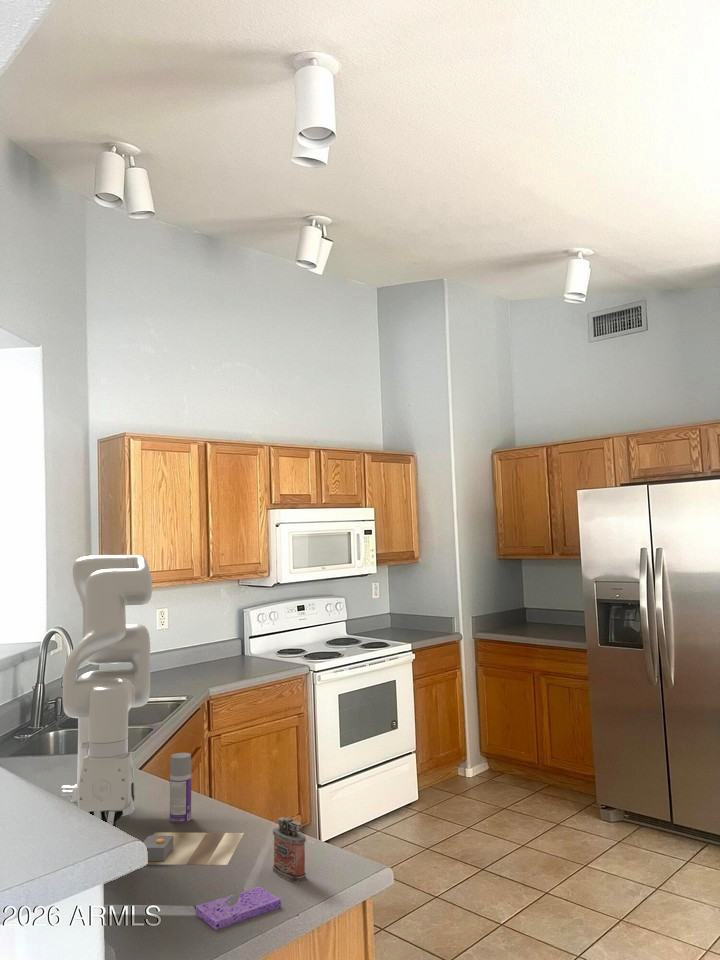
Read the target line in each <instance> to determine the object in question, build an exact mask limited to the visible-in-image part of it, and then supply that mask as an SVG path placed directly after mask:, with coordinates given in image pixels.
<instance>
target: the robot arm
mask: <svg viewBox="0 0 720 960" xmlns="http://www.w3.org/2000/svg"><path fill="white" fill-rule="evenodd" d="M72 577H73V578H72V580H73V583H74V584H73V585H74V587H75V590H76V592H77V595H78V596H79V600H80V602H81V606H82V639H80V641H79V642H78V643H77V644H76V645H75V646H74V647H73V649H72V650H71V652H70V654H69V655H68V657H67V658H66V661H65V665H64V668H63V673H62V674H63V675H62V709H63V712H64V713H65V715H66V716H67V717H68V718H72V719H77V720H78V721H77V727H78V728H77V732H78V734H77V735H78V736H77V772H76V773H77V774H76V775H77V776H76V778H77V779H76V780H77V781H76V784H75V785H62V786H61V788H60V793H61V796H62V797H70V798H71V800H70V801H69V804H70V803H72V804H74V805H76V806H78V807H79V808H81V809H83V810H85V811H86V812H88V813H90V814H92V815H94V816H96V817H98V818H100V819H101V820H103V821H105V822H107V823H109V824H111V825H113V826H115V827H116V825H117V824H116V822H117V821H118V820H119V819H120V818H121V817H125V816H127V815H132V814H133V813H134V812H135V810H136V808H135V805H134V801H135V797H136V794H135V793H136V788H135V787H136V786H135V771H134V764H133V758H132V755H131V753H130V752H129V750H128V749H129V748H128V747H129V743H128V742H129V741H128V740H129V739H128V738H129V712H130V710H131V708H139V707H140V708H141V707H143V706H145V705H146V704H148V702H149V699H150V696H151V638H150V637H151V636H150V634H149V631H148V628H147V627H146V626H145V625H143V624H141V623H130V624H129V623H127V622H126V606H143V605H146V604H148V603H149V602H150V601H151V598H152V595H153V579H152V578H153V577H152V574H151V569H150V567H149V563H148V561H147V559H146V557H144V556H142V555H139V554H138V555H137V554H118V555H117V554H116V555H115V554H112V555H111V554H103V555H102V554H98V555H97V554H96V555H88V556H86V555H85V556H82V557H79V558H77V559H76V560H74V563H73V565H72ZM84 661H85V662H86V663H87V664H90V665H114V664H115V665H116V664H129V665H130V666H131V667H130V668H129V667H128V668H116V669H115V668H114V669H111V668H110V669H98V670H97V669H96V670H91V671H87V672H85V673H83V674H81V675H80V676H79V677H78V670H79V667H80V666H81V664H82V663H83V662H84ZM107 812H108V816H107Z"/></svg>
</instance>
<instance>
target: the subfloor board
mask: <svg viewBox="0 0 720 960" xmlns="http://www.w3.org/2000/svg"><path fill="white" fill-rule="evenodd" d="M244 834H245V832H167V831H166V832H164V831H162V832H161V831H160V832H159V831H158V832H157V831H156V832H154V834H153V835H152V836H173V850H172V851H171V853H170V854H169V855H168V857H167V858H166V859H165V861H148V864H147V865H153V866H154V865H162V866H163V865H165V866H167V865H169V866H171V865H172V866H173V865H174V866H177V865H178V866H179V865H180V866H181V865H183V866H228V865H229V862H230V861H231V858H233V856H234V853H235V851H237V848H238V846H239V844H240V842H241V840H242V838H243V837H244Z"/></svg>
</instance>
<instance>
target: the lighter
mask: <svg viewBox="0 0 720 960" xmlns="http://www.w3.org/2000/svg"><path fill="white" fill-rule="evenodd" d="M277 823H278V827H274V828H273V829H272V835H273V866H272V872H273V873H274V874H276V875H277V876H278V877H281V878H282V879H285V880H288V881H291V882H293V883H302V882H304V881H306V879H307V873H306V870H305V869H306V865H305V864H306V863H305V862H306V859H305V858H306V857H305V855H306V851H305V850H306V848H305V847H306V844H305V843H306V842H307V841H306V838H307V837H306V835H305V834H303V833H301V832H303V824H302V823H300V822H298V821H294V818H292V817H287V818H286V817H278V821H277Z"/></svg>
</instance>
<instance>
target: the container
mask: <svg viewBox="0 0 720 960" xmlns="http://www.w3.org/2000/svg"><path fill="white" fill-rule="evenodd" d="M169 767H170V769H169V822H171V823H173V824H183V823H186V822H189V821H190V820H192V754H191V753H189V752H177V753H173V754H171V755H170V765H169Z"/></svg>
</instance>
